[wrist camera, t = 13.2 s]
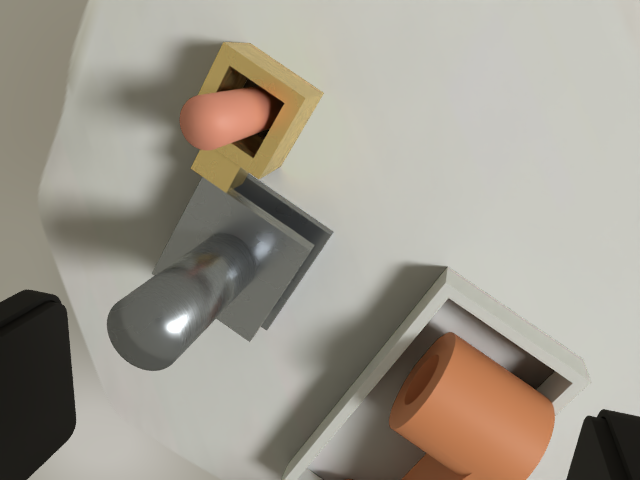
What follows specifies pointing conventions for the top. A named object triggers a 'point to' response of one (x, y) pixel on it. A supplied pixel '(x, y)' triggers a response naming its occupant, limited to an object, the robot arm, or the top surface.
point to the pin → (228, 116)
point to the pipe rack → (450, 285)
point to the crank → (470, 416)
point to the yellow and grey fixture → (227, 231)
